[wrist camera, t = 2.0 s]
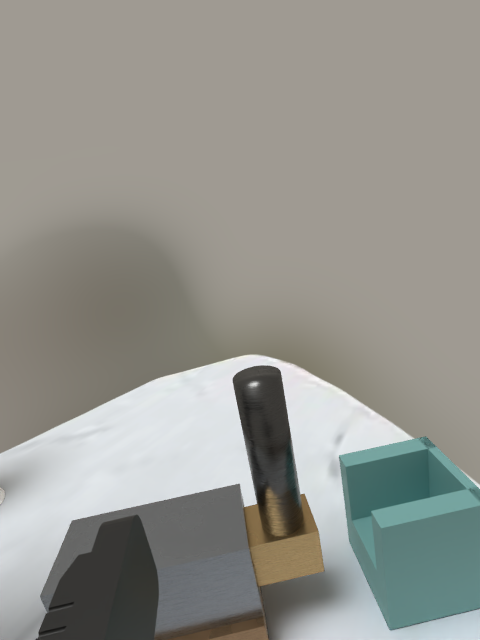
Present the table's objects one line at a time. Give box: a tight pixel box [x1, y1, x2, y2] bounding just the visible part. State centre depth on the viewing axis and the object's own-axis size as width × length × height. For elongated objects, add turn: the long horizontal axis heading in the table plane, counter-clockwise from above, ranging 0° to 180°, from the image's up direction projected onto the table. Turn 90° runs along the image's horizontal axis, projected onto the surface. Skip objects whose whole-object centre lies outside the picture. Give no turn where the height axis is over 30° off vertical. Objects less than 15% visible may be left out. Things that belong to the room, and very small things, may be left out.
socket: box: [339, 437, 480, 630], centre depth 24 cm, size 6×6×8 cm
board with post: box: [233, 366, 324, 587], centre depth 21 cm, size 14×3×12 cm, turn 96°
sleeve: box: [40, 484, 269, 640], centre depth 23 cm, size 11×6×8 cm, turn 96°
